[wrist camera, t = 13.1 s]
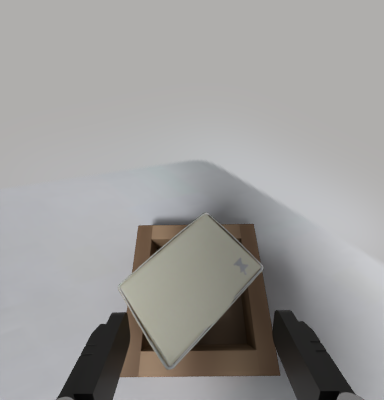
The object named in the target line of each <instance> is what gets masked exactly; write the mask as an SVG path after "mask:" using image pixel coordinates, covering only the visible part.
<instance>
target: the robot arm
mask: <svg viewBox="0 0 384 400" xmlns="http://www.w3.org/2000/svg"><path fill="white" fill-rule="evenodd" d="M272 335H273V341H274V345H275V347H276V350H277V352H278V355H279V357H280V359H281V362H282V364H283V367H284V369H285V371H286V374H287V376H288V379H289V381H290V383H291V386H292V388H293V391H294V393H295V395H296V398H297V400H364V399H362V398H361V397H359V396H357V395H356V394H355V393H354V392H353V390H352V389H351V387H350V386H349V384H348V383H347V381H346V380H345V378H344V377H343V375H342V374H341V372H340V371H339V369H338V367H337V366H336V364H335V363H334V361H333V360H332V358H331V357H330V355H329V354H328V353H327V352H326V349H325V348H324V346H323V345H322V343H320V340H319V339H318V337H317V336H316V334H315V333H314V331H313V330H312V329H311V328H310V327H309V326H308V325H307V324H305V323H304V322H303V321H300V322H298V321H297V319H296V317H295V316H294V314H293V312H292V311H290V310H276V311H275V314H274V323H273V331H272ZM129 344H130V328H129V320H128V314H127V312H119V313H112V314H111V316H110V318H109V320H108V322H107V324H100V325H99V326H98V327H97V329H96V330H95V331H94V332H93V333H92V334H91V336H90V338H89V340H88V342H87V343H86V346H85V347H84V349H83V351H82V353H81V356H80V357H79V359H78V360H77V362H76V364H75V366H74V368H73V370H72V372H71V374H70V376H69V377H68V379H67V381H66V383H65V385H64V387H63V389H62V391H61V393H60V394H59V396H58V397H57V399H56V400H113V397H114V393H115V390H116V387H117V384H118V380H119V377H120V374H121V371H122V368H123V364H124V361H125V358H126V355H127V351H128V348H129Z"/></svg>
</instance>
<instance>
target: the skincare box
mask: <svg viewBox="0 0 384 400" xmlns="http://www.w3.org/2000/svg"><path fill="white" fill-rule="evenodd" d="M263 269H264V267H263V265H262V264H261V263H260V262H259V261H258V260H257V259H256V258H255V257H254V256H253V255H252V254H251V253H250V252H249V251H248V250H247V249H246V248H245V247H244V246H243V245H242V244H241V243H240V242H239V241H238V240H237V239H236V238H235V237H234V236H233V235H232V234H231V233H230V232H229V231H228V230H226V229H225V228H224V227H223V226H222V225H221V224H220V223H219V222H218V221H217V220H215V219H214V218H213V217H212V216H211V215H210V214H209V213H204V214H202V215H201V216H200V217H198V218H197V219H196V220H194V221H193V222H192V223H190V224H189V225H188V226H186V227H185V228H184V229H183V230H181V231H180V232H179V233H178V234H177V235H175V236H174V237H173V238H172V239H171V240H170V241H168V242H167V243H166V244H165V245H164V246H162V247H161V248H160V249H159V250H158V251H157V252H155V253H154V254H153V255H152V256H151V257H150V258H149V259H147V260H146V261H145V262H144V263H143V264H142V265H141V266H140V267H138V268H137V269H136V270H135V271H134V272H133V273H132V274H131V275H130V276H128V277H127V278H126V279H125V280H124V281H123V282H122V283H121V284H119V286H118V290H119V292H120V293H121V295H122V297H123V298H124V300H125V302H126V304H127V306H128V307H129V309H130V311H131V313H132V314H133V316H134V318H135V320H136V322H137V323H138V325H139V327H140V328H141V330H142V332H143V333H144V335H145V337H146V338H147V340H148V342H149V343H150V345H151V347H152V348H153V350H154V351H155V353H156V355H157V356H158V358H159V360H160V361H161V363H162V364H163V366H164V367H165V368H166V369H167V370H171V369H173V368H175V366H176V365H177V364H178V363H179V362H180V361H181V360H182V359H183V358H184V357H185V356H186V354H187V353H188V352H189V351H190V350H191V349H192V348H193V347H194V346H195V345H196V344H197V343H198V341H199V340H200V339H201V338H202V337H203V336H204V335H205V334H206V333H207V332H208V331H209V329H210V328H211V327H212V326H213V325H214V324H215V323H216V322H217V321H218V320H219V319H220V317H221V316H222V315H223V314H224V313H225V312H226V311H227V310H228V308H229V307H230V306H231V305H232V304H233V303H234V302H235V301H236V300H237V298H238V297H239V296H240V295H241V294H242V293H243V292H244V291H245V290H246V288H247V287H248V286H249V285H250V284H251V283H252V282H253V281H254V279H255V278H256V277H257V276H258V275H259V274H260V273H261V272H262V271H263Z"/></svg>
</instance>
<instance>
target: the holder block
mask: <svg viewBox="0 0 384 400" xmlns="http://www.w3.org/2000/svg"><path fill="white" fill-rule="evenodd" d="M221 225H222V226H223V227H224V228H225V229H226V230H228V231H229V232H230V233H231V234H232V235H233V236H234V237H235V238H236V239H237V240H238V241H239V242H240V243H241V244H242V245H243V246H244V247H245V248H246V249H247V250H248V251H249V252H250V253H251V254H252V255H253V256H254V257H255V258H256V259H257V260H258V261H259V262H260V257H259V251H258V246H257V240H256V234H255V229H254V224H221ZM186 226H188V225H143V226H138V232H137V240H136V247H135V255H134V262H133V270H132V273H133V272H134V271H135V270H136V269H137V268H138V267H140V266H141V265H142V264H143V263H144V262H145V261H146V260H147V259H149V258H150V257H151V256H152V255H153V254H154V253H155V252H157V251H158V250H159V249H160V248H161V247H162V246H164V245H165V244H166V243H167V242H168V241H170V240H171V239H172V238H173V237H174V236H175V235H177V234H178V233H179V232H180V231H181V230H183V229H184V228H185V227H186ZM127 314H128V320H129V328H130V344H129V348H128V351H127V355H126V358H125V361H124V364H123V368H122V371H121V374H120V377H187V376H280V370H279V365H278V359H277V353H276V348H275V345H274V341H273V335H272V325H271V319H270V314H269V308H268V302H267V297H266V291H265V285H264V280H263V274H262V272H261V273H260V274H259V275H258V276H257V277H256V278H255V279H254V281H253V282H252V283H251V284H250V285H249V286H248V287H247V288H246V290H245V291H244V292H243V293H242V294H241V295H240V296H239V297H238V298H237V300H236V301H235V302H234V303H233V304H232V305H231V306H230V307H229V308H228V310H227V311H226V312H225V313H224V314H223V315H222V316H221V317H220V319H219V320H218V321H217V322H216V323H215V324H214V325H213V326H212V327H211V328H210V329H209V331H208V332H207V333H206V334H205V335H204V336H203V337H202V338H201V339H200V340H199V341H198V343H197V344H196V345H195V346H194V347H193V348H192V349H191V350H190V351H189V352H188V353H187V354H186V356H185V357H184V358H183V359H182V360H181V361H180V362H179V363H178V364H177V365H176V366H175V368H173V369H171V370H167V369H166V368H165V367H164V366H163V364H162V363H161V361H160V360H159V358H158V356H157V355H156V353H155V351H154V350H153V348H152V347H151V345H150V343H149V342H148V340H147V338H146V337H145V335H144V333H143V332H142V330H141V328H140V327H139V325H138V323H137V322H136V320H135V318H134V316H133V314H132V313H131V311H130V309H129V307H127Z"/></svg>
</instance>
